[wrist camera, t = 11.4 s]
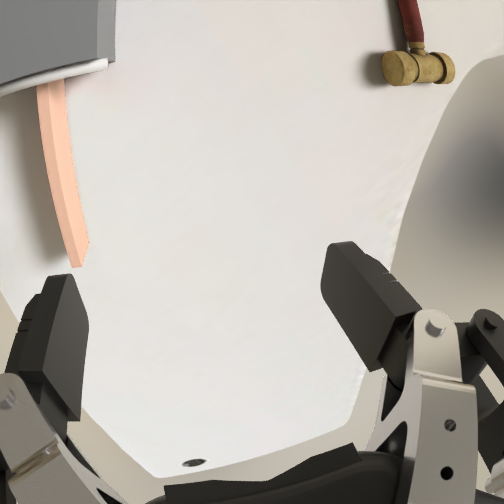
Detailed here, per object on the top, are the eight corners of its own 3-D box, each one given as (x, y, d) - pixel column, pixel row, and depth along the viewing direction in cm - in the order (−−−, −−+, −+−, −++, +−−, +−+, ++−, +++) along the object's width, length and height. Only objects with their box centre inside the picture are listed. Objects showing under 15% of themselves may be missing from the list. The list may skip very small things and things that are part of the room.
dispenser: (15, -38, 13) (-20, -58, 6) (127, -68, 16) (119, -105, 9) (9, 96, 22) (-33, 108, 15) (120, 70, 25) (103, 69, 18)
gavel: (368, -68, 18) (427, -53, 19) (349, -58, 22) (407, -47, 23) (405, 87, 29) (457, 85, 30) (383, 85, 33) (434, 82, 34)
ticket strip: (52, 46, 21) (35, 43, 17) (63, 43, 21) (46, 40, 17) (80, 243, 34) (72, 268, 30) (89, 242, 34) (81, 266, 30)
